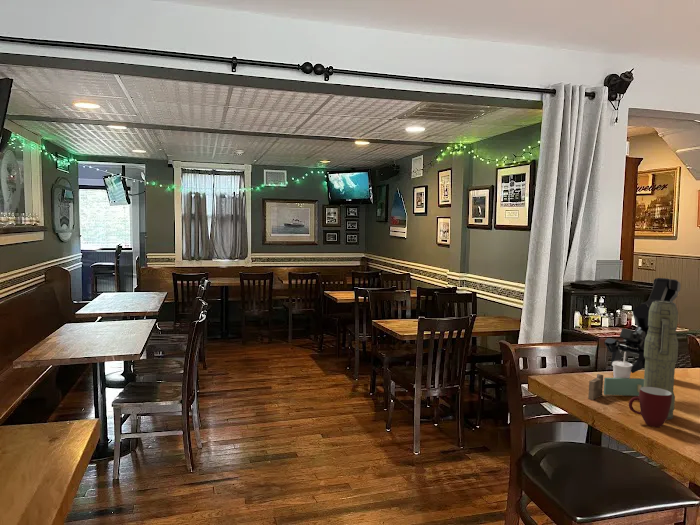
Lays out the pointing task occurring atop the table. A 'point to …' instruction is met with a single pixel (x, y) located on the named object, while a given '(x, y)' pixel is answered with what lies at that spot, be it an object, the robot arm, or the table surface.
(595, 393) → the brown block
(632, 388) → the green block
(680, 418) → the table surface
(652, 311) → the thermos
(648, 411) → the mug
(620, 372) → the smoothie
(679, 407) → the table surface
